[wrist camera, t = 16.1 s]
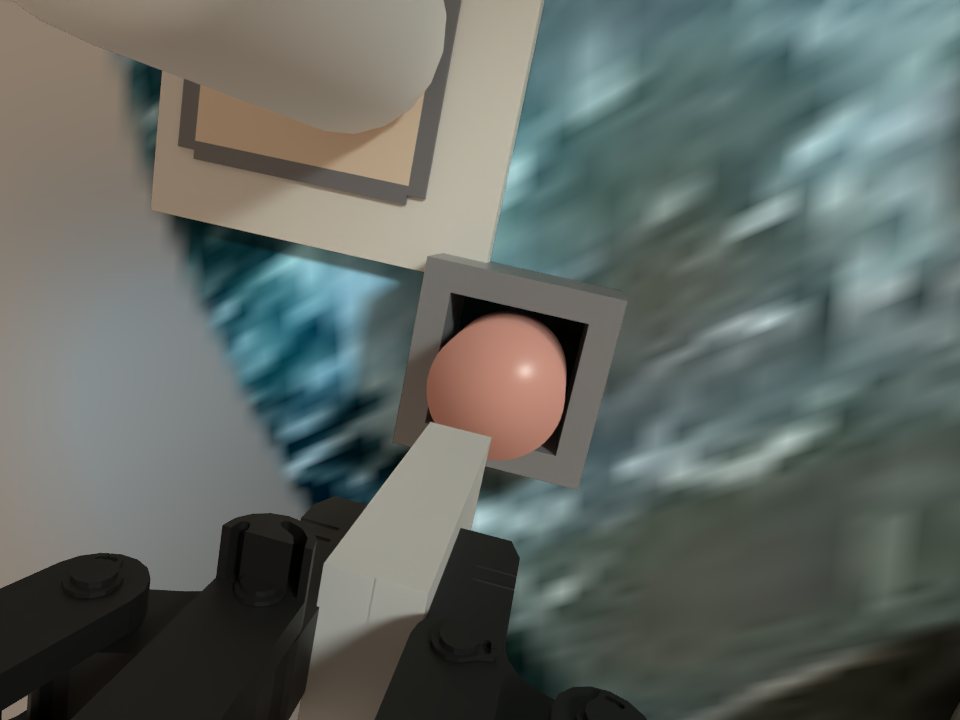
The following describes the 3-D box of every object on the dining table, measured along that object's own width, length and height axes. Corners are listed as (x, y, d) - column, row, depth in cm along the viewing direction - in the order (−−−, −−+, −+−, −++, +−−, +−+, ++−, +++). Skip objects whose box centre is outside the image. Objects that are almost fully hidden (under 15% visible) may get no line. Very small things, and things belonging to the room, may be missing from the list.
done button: (460, 298, 26) (440, 311, 22) (579, 326, 26) (579, 343, 22) (438, 411, 27) (415, 441, 24) (551, 439, 27) (546, 475, 23)
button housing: (447, 252, 29) (427, 256, 25) (621, 290, 28) (627, 301, 24) (415, 415, 31) (392, 442, 27) (577, 455, 30) (577, 489, 26)
